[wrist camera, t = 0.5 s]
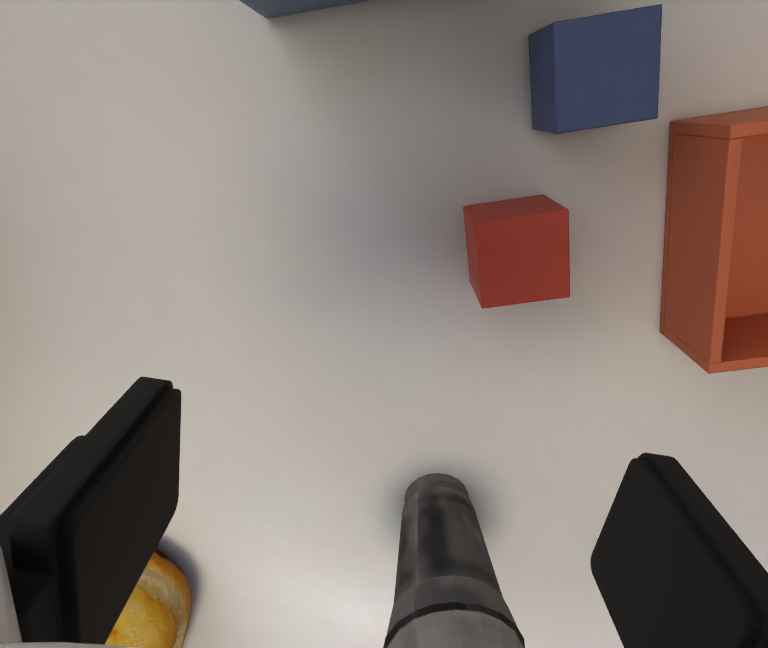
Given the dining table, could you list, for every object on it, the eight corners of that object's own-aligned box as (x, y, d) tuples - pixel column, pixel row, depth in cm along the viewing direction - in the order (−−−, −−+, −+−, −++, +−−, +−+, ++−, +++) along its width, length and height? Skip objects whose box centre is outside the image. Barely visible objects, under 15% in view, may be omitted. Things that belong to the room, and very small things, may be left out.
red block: (463, 206, 30) (474, 222, 26) (544, 194, 30) (568, 209, 26) (470, 282, 32) (481, 309, 28) (546, 271, 31) (570, 297, 27)
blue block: (528, 34, 27) (553, 22, 23) (620, 19, 26) (662, 3, 22) (532, 129, 28) (556, 134, 24) (618, 116, 28) (657, 118, 24)
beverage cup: (492, 457, 36) (594, 822, 18) (484, 540, 39) (566, 929, 21) (385, 456, 37) (377, 818, 18) (384, 538, 39) (378, 925, 21)
